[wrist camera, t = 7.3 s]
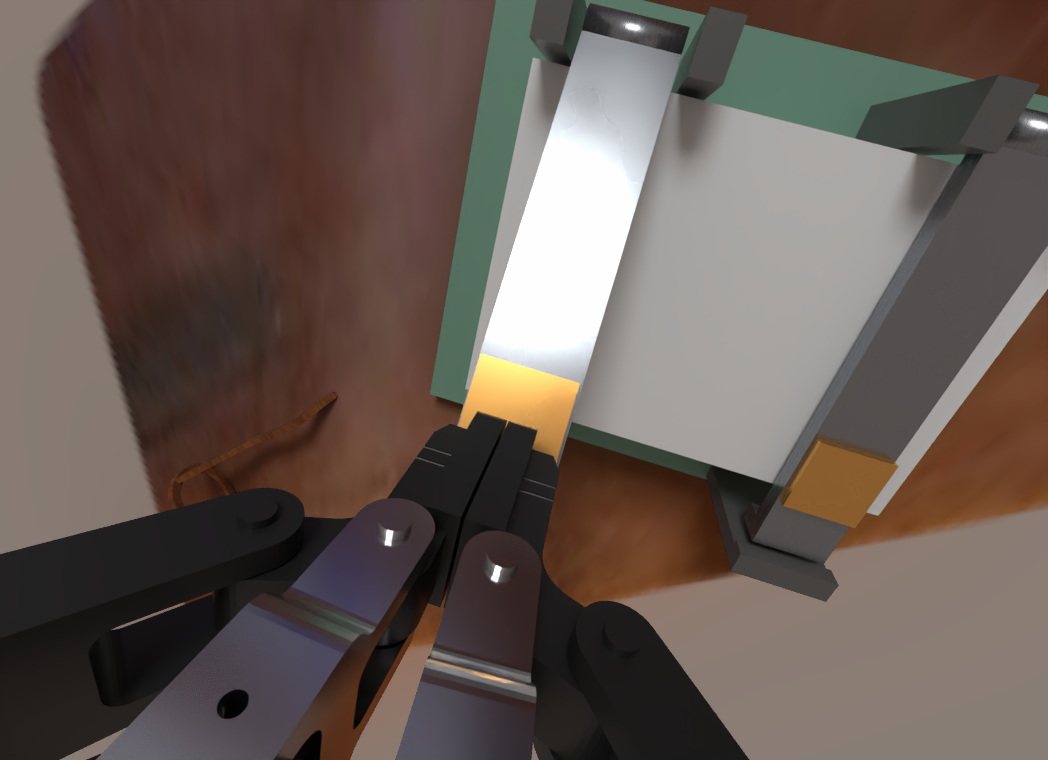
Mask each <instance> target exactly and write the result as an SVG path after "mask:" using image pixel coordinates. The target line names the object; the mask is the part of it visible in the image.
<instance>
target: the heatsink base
mask: <svg viewBox="0 0 1048 760" xmlns="http://www.w3.org/2000/svg"><path fill="white" fill-rule="evenodd" d="M590 3H593V4H597V5H601V6H605V7H609V8H613V9H617V10H622V11H626V12H630V13H634V14H638V15H642V16H646V17H651V18H655V19H659V20H663V21H667V22H671V23H676V24H680V25H684V26H688V27H690V29H689V33H688V36H687V39H686V42H685V46H684V49H683V52H682V55H681V58H680V62H679V65H678V68H677V72H676V75H675V78H674V82H673V85H672V88H671V92H670V95H669V98H668V102H667V105H666V108H665V112H664V115H663V118H662V122H661V125H660V128H659V132H658V135H657V138H656V142H655V145H654V148H653V152H652V155H651V158H650V162H649V165H648V168H647V172H646V175H645V179H644V182H643V185H642V189H641V192H640V195H639V199H638V202H637V205H636V209H635V212H634V215H633V219H632V222H631V225H630V229H629V232H628V235H627V239H626V242H625V245H624V249H623V252H622V255H621V259H620V262H619V265H618V269H617V272H616V275H615V279H614V282H613V285H612V289H611V292H610V295H609V299H608V302H607V305H606V309H605V312H604V316H603V319H602V322H601V326H600V329H599V332H598V336H597V339H596V342H595V346H594V349H593V352H592V356H591V359H590V362H589V366H588V369H587V372H586V376H585V379H584V382H583V386H582V389H581V392H580V396H579V399H578V402H577V406H576V409H575V412H574V416H573V419H572V422H571V426H570V429H569V432H568V436H567V437H570V438H573V439H576V440H580V441H583V442H586V443H589V444H592V445H596V446H599V447H602V448H605V449H609V450H612V451H615V452H618V453H622V454H625V455H628V456H631V457H634V458H638V459H641V460H644V461H647V462H651V463H654V464H657V465H660V466H664V467H667V468H670V469H673V470H676V471H680V472H683V473H686V474H689V475H693V476H696V477H699V478H702V479H706V480H707V482H708V486H709V490H710V494H711V498H712V502H713V505H714V509H715V513H716V517H717V521H718V525H719V529H720V532H721V536H722V540H723V544H724V548H725V552H726V555H727V559H728V563H729V567H730V571H732V572H735V573H738V574H741V575H745V576H748V577H751V578H754V579H757V580H760V581H764V582H766V583H769V584H773V585H776V586H779V587H782V588H785V589H788V590H791V591H794V592H797V593H800V594H803V595H807V596H810V597H813V598H816V599H819V600H822V601H825V602H826V601H827V600H828V598H829V597H830V596H831V595H832V593H833V592H834V590H835V589H836V588H837V587H838V583H837V581H836V580H835V577H834V575H833V573H832V571H831V570H829V569H826V568H825V566H824V564H823V563H820V562H817V561H814V560H811V559H808V558H804V557H801V556H798V555H795V554H792V553H789V552H785V551H782V550H779V549H776V548H773V547H770V546H766V545H763V544H760V543H757V542H754V541H752V539H751V536H750V533H749V530H748V528H747V525H746V522H745V519H744V515H745V513H746V511H747V509H748V508H749V506H750V504H751V503H754V504H757V505H760V506H761V505H762V503H763V501H764V499H765V498H766V496H767V494H768V493H769V491H770V489H771V487H772V486H773V484H774V482H775V481H776V479H777V477H778V475H779V474H780V472H781V470H782V469H783V467H784V465H785V463H786V462H787V460H788V458H789V456H790V455H791V453H792V451H793V450H794V448H795V446H796V444H797V443H798V441H799V439H800V438H801V436H802V434H803V432H804V431H805V429H806V427H807V426H808V424H809V422H810V420H811V419H812V417H813V415H814V414H815V412H816V410H817V408H818V407H819V405H820V403H821V402H822V400H823V398H824V396H825V395H826V393H827V391H828V390H829V388H830V386H831V384H832V383H833V381H834V379H835V378H836V376H837V374H838V372H839V371H840V369H841V367H842V366H843V364H844V362H845V360H846V359H847V357H848V355H849V353H850V352H851V350H852V348H853V347H854V345H855V343H856V341H857V340H858V338H859V336H860V335H861V333H862V331H863V329H864V328H865V326H866V324H867V323H868V321H869V319H870V317H871V316H872V314H873V312H874V311H875V309H876V307H877V305H878V304H879V302H880V300H881V299H882V297H883V295H884V293H885V292H886V290H887V288H888V287H889V285H890V283H891V281H892V280H893V278H894V276H895V275H896V273H897V271H898V269H899V268H900V266H901V264H902V262H903V261H904V259H905V257H906V256H907V254H908V252H909V250H910V249H911V247H912V245H913V244H914V242H915V240H916V238H917V237H918V235H919V233H920V232H921V230H922V228H923V226H924V225H925V223H926V221H927V220H928V218H929V216H930V214H931V213H932V211H933V209H934V208H935V206H936V204H937V202H938V201H939V199H940V197H941V196H942V194H943V192H944V190H945V189H946V187H947V185H948V184H949V182H950V180H951V178H952V177H953V175H954V173H955V172H956V170H957V168H958V166H959V165H960V163H961V161H962V159H963V158H964V156H965V154H991V153H998V152H999V150H1000V148H1001V147H1002V145H1003V144H1004V142H1005V140H1006V139H1007V137H1008V135H1009V134H1010V132H1011V131H1012V129H1013V127H1014V126H1015V124H1016V123H1017V121H1018V119H1019V118H1020V116H1021V114H1022V113H1023V111H1024V110H1025V108H1028V109H1033V110H1037V111H1041V112H1045V113H1048V97H1045V96H1041V95H1037V94H1034V93H1035V92H1036V90H1037V89H1038V87H1039V85H1040V84H1036V83H1031V82H1027V81H1023V80H1019V79H1015V78H1010V77H1006V76H1002V75H996V76H992V77H988V78H984V79H980V80H974V79H970V78H966V77H961V76H957V75H953V74H949V73H945V72H940V71H936V70H932V69H928V68H924V67H920V66H915V65H911V64H907V63H903V62H899V61H894V60H890V59H886V58H882V57H878V56H873V55H869V54H865V53H861V52H857V51H852V50H848V49H844V48H840V47H836V46H831V45H827V44H823V43H819V42H815V41H811V40H806V39H802V38H798V37H794V36H790V35H785V34H781V33H777V32H773V31H769V30H764V29H760V28H756V27H752V26H748V25H745V22H746V20H747V17H748V15H745V14H740V13H736V12H732V11H728V10H723V9H719V8H715V7H711V6H710V8H709V10H708V12H707V14H706V15H702V14H697V13H693V12H689V11H685V10H681V9H676V8H672V7H668V6H664V5H660V4H655V3H651V2H647V1H643V0H496V5H495V11H494V17H493V23H492V29H491V35H490V40H489V46H488V52H487V58H486V64H485V70H484V76H483V82H482V88H481V94H480V100H479V106H478V112H477V118H476V124H475V130H474V136H473V142H472V148H471V154H470V160H469V166H468V172H467V177H466V183H465V189H464V195H463V201H462V207H461V213H460V219H459V225H458V231H457V237H456V243H455V249H454V255H453V261H452V267H451V273H450V279H449V285H448V291H447V297H446V303H445V309H444V314H443V320H442V326H441V332H440V338H439V344H438V350H437V356H436V362H435V368H434V374H433V380H432V386H431V392H430V394H431V395H434V396H437V397H441V398H444V399H447V400H450V401H454V402H457V403H460V404H463V405H464V402H465V399H466V396H467V392H468V389H469V386H470V383H471V380H472V377H473V373H474V370H475V367H476V364H477V361H478V358H479V354H480V351H481V348H482V345H483V342H484V339H485V335H486V332H487V329H488V326H489V323H490V320H491V316H492V313H493V310H494V307H495V304H496V301H497V298H498V294H499V291H500V288H501V285H502V282H503V279H504V275H505V272H506V269H507V266H508V263H509V260H510V256H511V253H512V250H513V247H514V244H515V241H516V237H517V234H518V231H519V228H520V225H521V222H522V218H523V215H524V212H525V209H526V206H527V203H528V199H529V196H530V193H531V190H532V187H533V184H534V180H535V177H536V174H537V171H538V168H539V165H540V161H541V158H542V155H543V152H544V149H545V146H546V142H547V139H548V136H549V133H550V130H551V127H552V123H553V120H554V117H555V114H556V111H557V108H558V104H559V101H560V98H561V95H562V92H563V89H564V85H565V82H566V79H567V76H568V73H569V70H570V66H571V63H572V60H573V57H574V54H575V51H576V47H577V44H578V41H579V38H580V35H581V32H582V27H583V23H584V19H585V15H586V12H587V9H588V6H589V4H590ZM1047 289H1048V246H1047V247H1046V249H1045V250H1044V252H1043V253H1042V254H1041V256H1040V257H1039V259H1038V260H1037V262H1036V263H1035V264H1034V266H1033V267H1032V269H1031V270H1030V272H1029V273H1028V274H1027V276H1026V277H1025V279H1024V280H1023V281H1022V283H1021V284H1020V286H1019V287H1018V289H1017V290H1016V291H1015V293H1014V294H1013V296H1012V297H1011V299H1010V300H1009V301H1008V303H1007V304H1006V306H1005V307H1004V308H1003V310H1002V311H1001V313H1000V314H999V316H998V317H997V318H996V320H995V321H994V323H993V324H992V326H991V327H990V328H989V330H988V331H987V333H986V334H985V335H984V337H983V338H982V340H981V341H980V343H979V344H978V345H977V347H976V348H975V350H974V351H973V352H972V354H971V355H970V357H969V358H968V360H967V361H966V362H965V364H964V365H963V367H962V368H961V370H960V371H959V372H958V374H957V375H956V377H955V378H954V379H953V381H952V382H951V384H950V385H949V387H948V388H947V389H946V391H945V392H944V394H943V395H942V397H941V398H940V399H939V401H938V402H937V404H936V405H935V406H934V408H933V409H932V411H931V412H930V414H929V415H928V416H927V418H926V419H925V421H924V422H923V424H922V425H921V426H920V428H919V429H918V431H917V432H916V433H915V435H914V436H913V438H912V439H911V441H910V442H909V443H908V445H907V446H906V448H905V449H904V451H903V452H902V453H901V455H900V456H899V458H898V459H897V460H896V462H895V463H896V464H897V465H898V466H899V467H898V468H897V470H896V471H895V473H894V474H893V475H892V477H891V478H890V480H889V481H888V482H887V484H886V485H885V487H884V488H883V489H882V491H881V492H880V494H879V495H878V496H877V498H876V499H875V501H874V502H873V504H872V505H871V506H870V508H869V509H868V511H867V513H871V514H874V515H877V516H878V515H879V514H880V513H881V511H882V510H883V509H884V507H885V506H886V505H887V503H888V502H889V501H890V499H891V498H892V497H893V495H894V494H895V493H896V491H897V490H898V488H899V487H900V486H901V484H902V483H903V482H904V480H905V479H906V478H907V476H908V475H909V474H910V472H911V471H912V470H913V468H914V467H915V466H916V464H917V463H918V462H919V460H920V459H921V458H922V456H923V455H924V454H925V452H926V451H927V450H928V448H929V447H930V446H931V444H932V443H933V442H934V440H935V439H936V438H937V436H938V435H939V434H940V432H941V431H942V430H943V428H944V427H945V426H946V424H947V423H948V422H949V420H950V419H951V418H952V416H953V415H954V414H955V412H956V411H957V410H958V408H959V407H960V406H961V404H962V403H963V401H964V400H965V399H966V397H967V396H968V395H969V393H970V392H971V391H972V389H973V388H974V387H975V385H976V384H977V383H978V381H979V380H980V379H981V377H982V376H983V375H984V373H985V372H986V371H987V369H988V368H989V367H990V365H991V364H992V363H993V361H994V360H995V359H996V357H997V356H998V355H999V353H1000V352H1001V351H1002V349H1003V348H1004V347H1005V345H1006V344H1007V343H1008V341H1009V340H1010V339H1011V337H1012V336H1013V335H1014V333H1015V332H1016V331H1017V329H1018V328H1019V327H1020V325H1021V324H1022V323H1023V321H1024V320H1025V319H1026V317H1027V316H1028V314H1029V313H1030V312H1031V310H1032V309H1033V308H1034V306H1035V305H1036V304H1037V302H1038V301H1039V300H1040V298H1041V297H1042V296H1043V294H1044V293H1045V292H1046V290H1047ZM560 461H561V459H560ZM559 465H560V463H559ZM558 469H559V466H558Z"/></svg>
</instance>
